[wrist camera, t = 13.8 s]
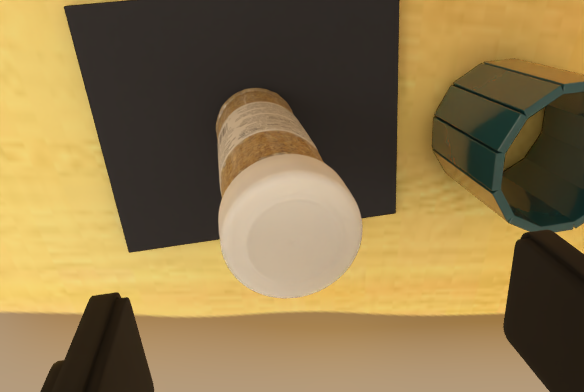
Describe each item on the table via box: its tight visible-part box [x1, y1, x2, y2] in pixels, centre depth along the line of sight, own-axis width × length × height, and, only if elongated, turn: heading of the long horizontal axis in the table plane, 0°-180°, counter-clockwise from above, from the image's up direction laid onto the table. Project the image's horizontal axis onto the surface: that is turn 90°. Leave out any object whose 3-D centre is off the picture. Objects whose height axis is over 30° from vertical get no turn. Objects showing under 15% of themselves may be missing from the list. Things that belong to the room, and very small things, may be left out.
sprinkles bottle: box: [216, 88, 362, 298], centre depth 20 cm, size 5×4×14 cm
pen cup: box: [432, 58, 584, 232], centre depth 26 cm, size 8×8×7 cm
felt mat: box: [64, 0, 399, 252], centre depth 27 cm, size 17×14×1 cm
